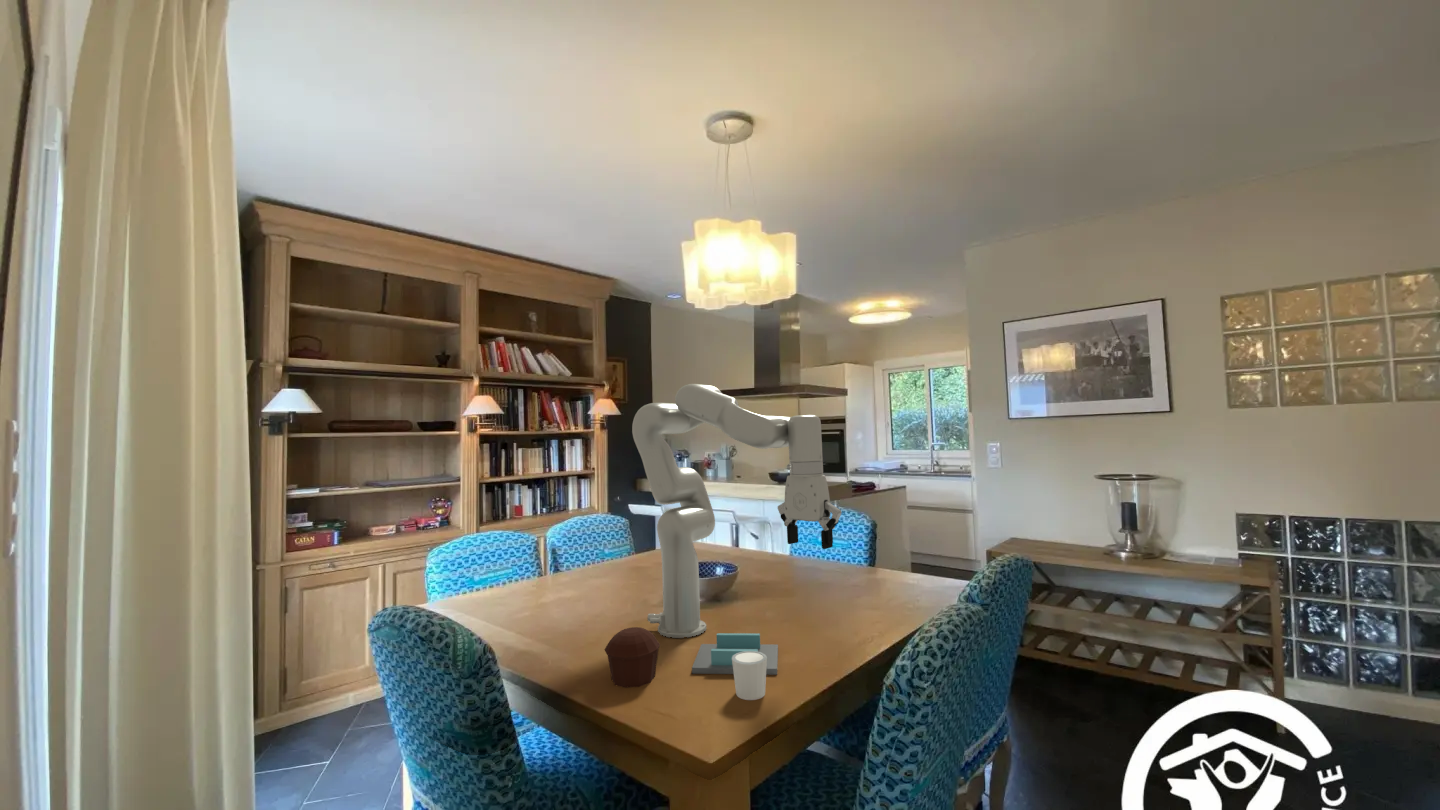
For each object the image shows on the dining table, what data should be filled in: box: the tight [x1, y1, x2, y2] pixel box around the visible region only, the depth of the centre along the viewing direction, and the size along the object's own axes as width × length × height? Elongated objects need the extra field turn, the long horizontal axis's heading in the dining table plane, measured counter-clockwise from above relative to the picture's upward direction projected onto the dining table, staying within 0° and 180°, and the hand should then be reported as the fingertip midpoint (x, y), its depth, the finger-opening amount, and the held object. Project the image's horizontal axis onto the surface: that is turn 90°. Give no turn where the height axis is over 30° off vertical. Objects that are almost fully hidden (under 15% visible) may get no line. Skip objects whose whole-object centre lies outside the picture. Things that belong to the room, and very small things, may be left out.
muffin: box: [604, 626, 661, 689], centre depth 121 cm, size 12×11×10 cm
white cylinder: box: [732, 651, 767, 701], centre depth 112 cm, size 7×7×7 cm
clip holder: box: [691, 632, 779, 676], centre depth 129 cm, size 18×14×4 cm
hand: (809, 545), depth 131 cm, fingers open, 9 cm apart
